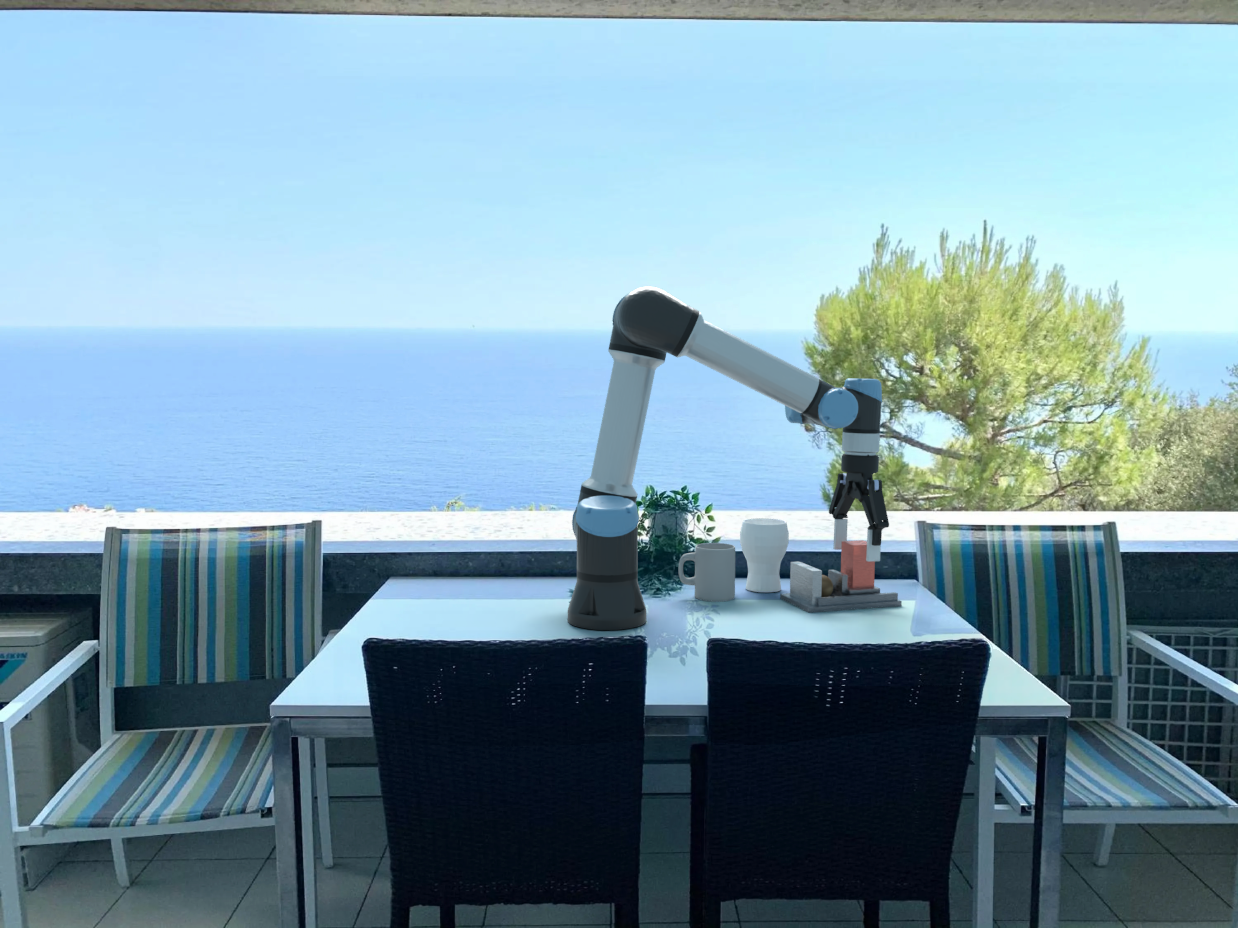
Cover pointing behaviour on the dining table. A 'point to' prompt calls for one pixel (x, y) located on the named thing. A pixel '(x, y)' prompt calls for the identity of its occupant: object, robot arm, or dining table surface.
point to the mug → (711, 571)
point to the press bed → (809, 595)
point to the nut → (826, 586)
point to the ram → (854, 571)
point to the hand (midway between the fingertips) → (855, 555)
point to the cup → (764, 552)
